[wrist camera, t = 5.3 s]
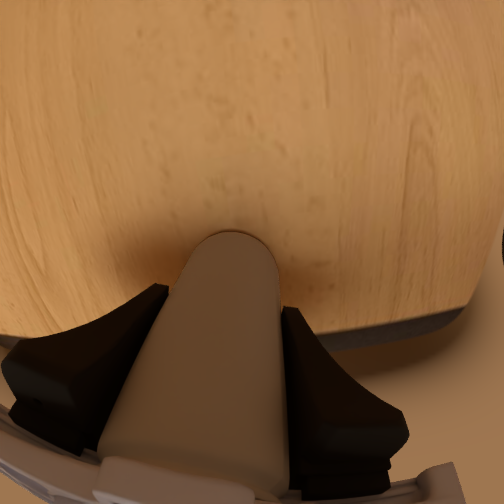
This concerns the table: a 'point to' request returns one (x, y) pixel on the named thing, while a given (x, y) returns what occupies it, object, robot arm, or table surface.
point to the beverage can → (212, 374)
